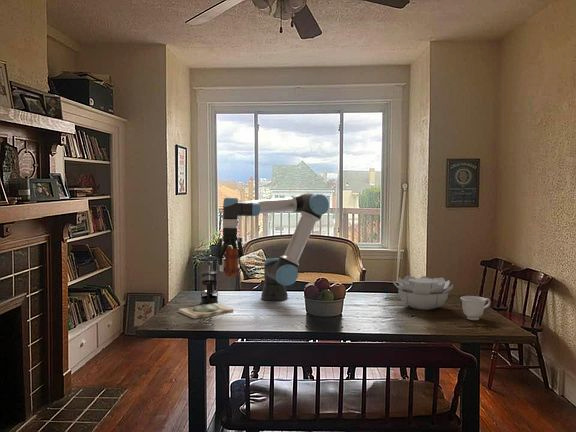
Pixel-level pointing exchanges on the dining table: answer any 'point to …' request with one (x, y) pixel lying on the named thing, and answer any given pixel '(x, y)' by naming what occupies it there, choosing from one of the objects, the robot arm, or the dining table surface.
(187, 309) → the serving board
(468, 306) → the teacup
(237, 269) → the mug
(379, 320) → the dining table surface
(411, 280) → the decorative bowl
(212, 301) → the french press
